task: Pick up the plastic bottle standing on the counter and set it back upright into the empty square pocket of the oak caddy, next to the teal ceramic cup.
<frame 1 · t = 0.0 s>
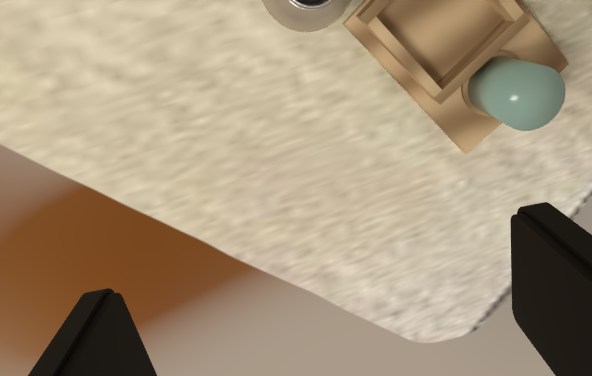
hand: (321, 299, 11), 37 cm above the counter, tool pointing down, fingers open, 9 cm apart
teal ceramic cup: (495, 84, 44), point 2 cm above the counter, touching oak caddy
oak caddy: (454, 43, 44), on the counter
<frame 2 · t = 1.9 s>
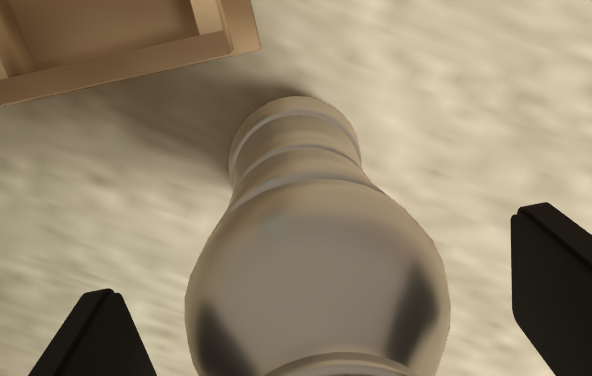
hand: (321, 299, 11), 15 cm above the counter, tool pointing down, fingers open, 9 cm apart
plastic bottle: (292, 146, 25), on the counter
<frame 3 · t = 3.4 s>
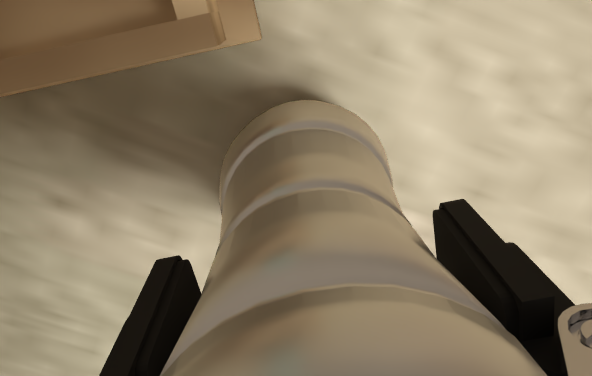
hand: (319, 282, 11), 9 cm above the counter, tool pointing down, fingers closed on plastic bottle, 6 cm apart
plastic bottle: (301, 161, 20), on the counter, touching gripper
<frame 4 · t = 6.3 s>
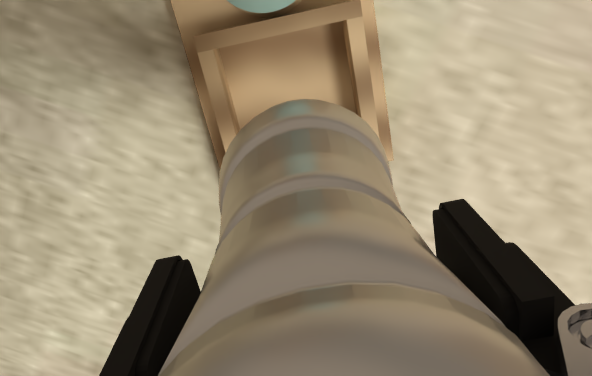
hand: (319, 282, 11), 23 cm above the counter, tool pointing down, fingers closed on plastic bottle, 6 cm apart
oak caddy: (283, 49, 31), on the counter
plastic bottle: (301, 160, 20), point 14 cm above the counter, touching gripper
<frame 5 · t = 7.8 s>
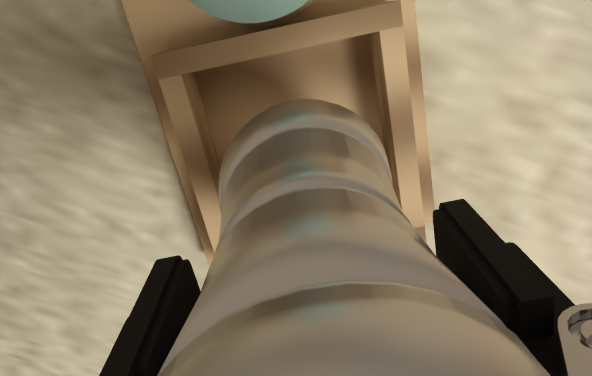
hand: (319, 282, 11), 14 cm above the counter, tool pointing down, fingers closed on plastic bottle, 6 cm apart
oak caddy: (284, 70, 22), on the counter
plastic bottle: (301, 160, 20), point 4 cm above the counter, touching gripper
when the fingers open (12 cm above the counter, at t = 9.2 s): plastic bottle drops 1 cm, resting on oak caddy.
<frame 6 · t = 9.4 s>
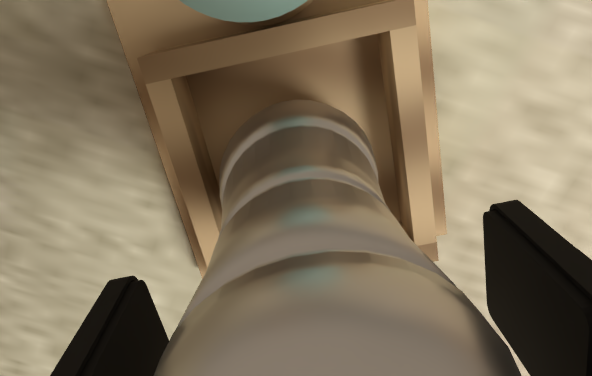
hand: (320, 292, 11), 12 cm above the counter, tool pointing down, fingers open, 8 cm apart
oak caddy: (284, 73, 21), on the counter
plastic bottle: (295, 156, 21), point 1 cm above the counter, touching oak caddy
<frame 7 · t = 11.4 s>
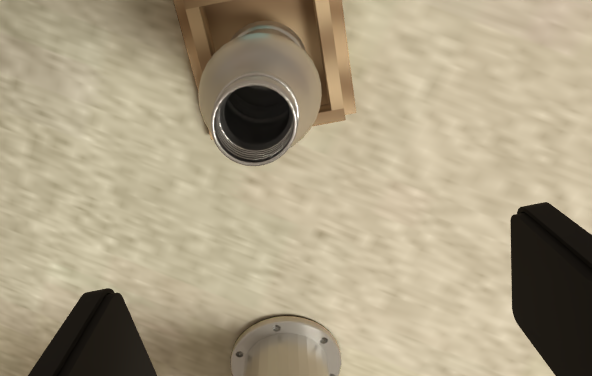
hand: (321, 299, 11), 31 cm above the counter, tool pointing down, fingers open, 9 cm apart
oak caddy: (260, 11, 36), on the counter
plastic bottle: (266, 60, 37), point 1 cm above the counter, touching oak caddy
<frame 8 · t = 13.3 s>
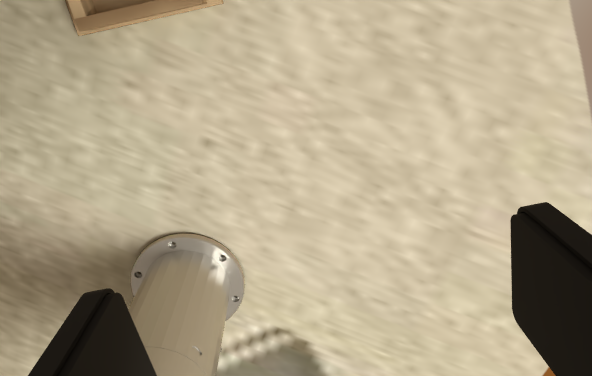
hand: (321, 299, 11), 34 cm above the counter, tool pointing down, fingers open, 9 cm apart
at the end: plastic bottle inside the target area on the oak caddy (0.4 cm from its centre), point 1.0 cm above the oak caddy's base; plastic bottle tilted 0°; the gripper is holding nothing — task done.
